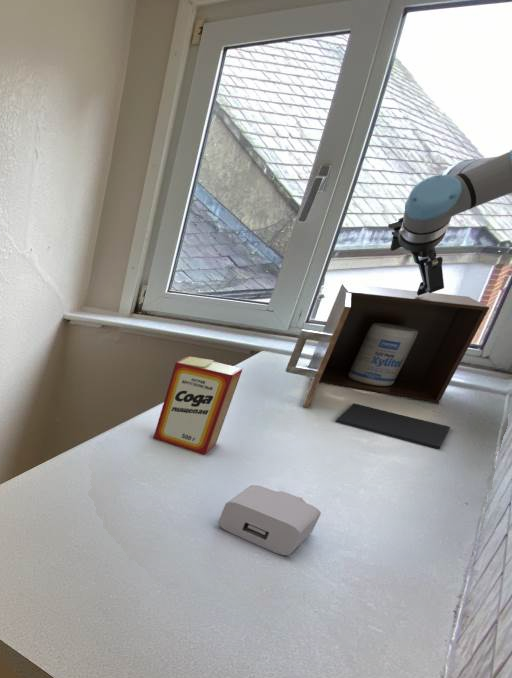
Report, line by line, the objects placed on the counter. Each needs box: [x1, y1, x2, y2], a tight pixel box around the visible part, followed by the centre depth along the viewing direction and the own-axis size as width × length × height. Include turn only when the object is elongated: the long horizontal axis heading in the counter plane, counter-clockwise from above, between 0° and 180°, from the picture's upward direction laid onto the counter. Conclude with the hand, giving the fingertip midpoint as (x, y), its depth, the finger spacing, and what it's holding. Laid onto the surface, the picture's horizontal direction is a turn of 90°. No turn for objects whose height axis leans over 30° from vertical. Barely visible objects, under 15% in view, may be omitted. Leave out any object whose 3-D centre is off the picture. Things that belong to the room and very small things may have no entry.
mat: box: [335, 403, 451, 450], centre depth 120 cm, size 17×17×1 cm
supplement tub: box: [348, 323, 419, 386], centre depth 143 cm, size 10×10×15 cm
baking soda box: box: [152, 355, 244, 456], centre depth 104 cm, size 10×6×16 cm
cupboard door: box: [285, 293, 351, 408], centre depth 134 cm, size 7×26×23 cm, turn 141°
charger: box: [218, 484, 321, 556], centre depth 80 cm, size 5×9×15 cm
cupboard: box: [308, 283, 491, 405], centre depth 142 cm, size 18×26×24 cm
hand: (411, 269), depth 136 cm, fingers open, 13 cm apart
